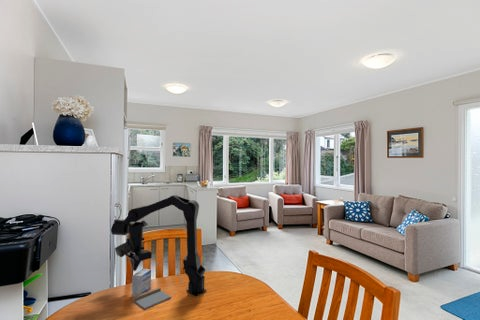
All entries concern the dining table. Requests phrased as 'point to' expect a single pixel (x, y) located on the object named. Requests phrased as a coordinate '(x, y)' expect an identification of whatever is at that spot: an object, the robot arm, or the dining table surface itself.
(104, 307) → the dining table surface
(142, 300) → the mat
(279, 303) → the dining table surface
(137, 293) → the medicine box
